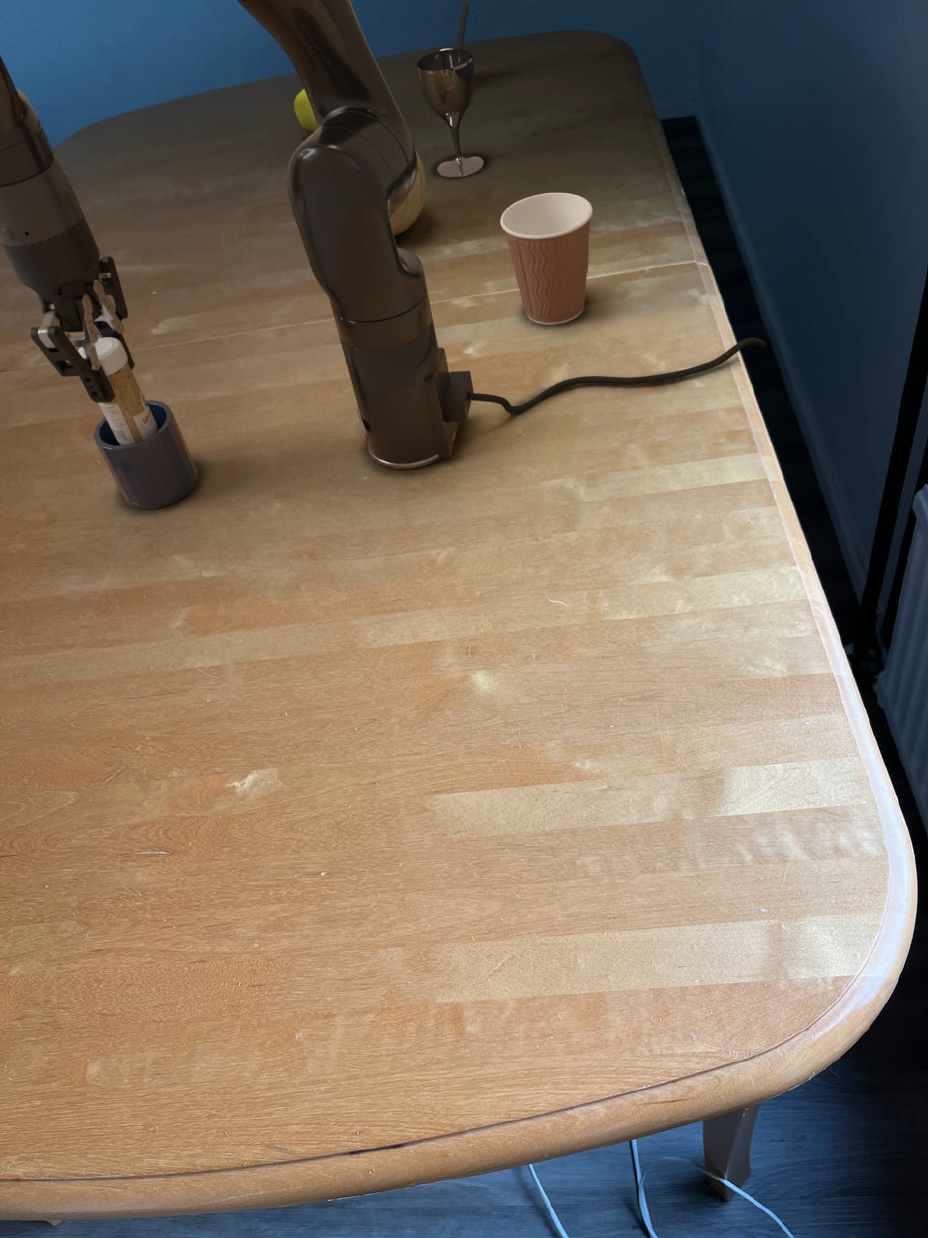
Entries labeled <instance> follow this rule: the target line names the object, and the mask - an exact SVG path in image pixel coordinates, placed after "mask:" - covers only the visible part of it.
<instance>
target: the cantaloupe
mask: <svg viewBox="0 0 928 1238" xmlns="http://www.w3.org/2000/svg"><path fill="white" fill-rule="evenodd" d="M415 151H416V155H417V177H416V181H415V184H414V186H413V188H412V190H411V192H410V194H409V195H408V197H407V198H406V199H405V201H404V202H403V203H402V204H401V205H400V206H399V208H398V209H397V210H396V211H395V212H394V213H393V214H392V216H391V217H390V222H391V227H392V231H393V235H394V237H396V236H398V235H400V234H402V233H404V232H405V231H406V230H408V229H409V228H410V227H411V226H412V225H413V224H414V223H415V222H416V220H417V219H418V217H419V216H420V214H421V211H422V209H423V206H424V204H425V200H426V199H425V198H426V190H427V189H426V188H427V183H426V174H425V171H424V166H423V163H422V160H421V158H420V155H419V153H418V151H417V150H416V149H415Z"/></svg>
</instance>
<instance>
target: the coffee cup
mask: <svg viewBox="0 0 928 1238" xmlns="http://www.w3.org/2000/svg"><path fill="white" fill-rule="evenodd" d="M592 215H593V206H592V204H591V203H590V201H589V200H588V199H586V198H585V197H582V196H581V195H578V194H573V193H569V192H547V193H540V194H535V195H531V196H529V197H525V198H522V199H520V200H517V201H516V202H514V203H513V204H511V205H509V206H508V207H507V208H506V209H504V211H503V212H502V214H501V217H500V221H499V223H500V225H501V228H502V230H504V234H505V237H506V242H507V246H508V249H509V255H510V258H511V262H512V266H513V270H514V274H515V278H516V283H517V286H518V291H519V294H520V298H521V299H520V300H521V302H522V306H523V309H524V311H525V314H526V316H527V317H528V318H529V320H531V321H532V322H534V323H536V324H540V325H544V326H554V325H555V326H556V325H562V324H565V323H569V322H571V321H574V320H575V319H576V318H578V317H579V315H581V313H583V311H584V309H585V307H584V306H585V301H586V295H587V279H588V278H587V277H588V276H587V275H588V271H589V258H590V257H589V256H590V255H589V254H590V253H589V242H590V226H591V225H590V224H591V217H592Z"/></svg>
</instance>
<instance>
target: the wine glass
mask: <svg viewBox="0 0 928 1238" xmlns="http://www.w3.org/2000/svg"><path fill="white" fill-rule="evenodd" d="M441 50H442V49H441ZM416 71H417V76H418V80H419V85H420V88H421V92H422V95H423V97H424V99H425V102H426V104H427V106H428V107H429V109H431V111H432V112H433V113H435V115H437V116H438V117H439V118H440V119H441V120H443V122H444V123H445V124H446V125H447V127H448V128H449V130H450V133H451V137H452V141H453V144H454V150H455V157H451V158H448V159H446V160H444V161H442V162H441V163H440V164H439V165H438V166H437V169H436V171H437V173H438V174H439V175H440V176H442V177H446V178H461V177H466V176H470V175H472V174H474V173H477V172H478V171H479V170H481V169H482V168H483V166H485V165H484V164H485V161H484V160H483V159H482V158H481V157H479V156H477V155H470V154H469V155H462V151H461V141H460V128H461V127H460V126H461V123H462V120H463V117H464V116H465V114H466V112H467V111H468V109H469V107H470V106H471V104H472V101H473V100H474V94H475V66H474V58H473V54H472V52H471V51H470V50H468V49H463V48H462V49H456V48H449V50H442V51H440V50H438V51H434V52H431V53H429V54H426V55H425V56H422V57H421V58H420V59H419V60H418V61H417V62H416Z"/></svg>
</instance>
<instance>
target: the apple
mask: <svg viewBox="0 0 928 1238" xmlns="http://www.w3.org/2000/svg"><path fill="white" fill-rule="evenodd" d="M293 109H294V113H295V116H296V117H297V120H298V122H299V124H300V125H301V127H302V128H303V129H305V130H306V131H308V132H311V133H313V132H314V131H316V130H317V129H318V126H317V122H316V119H315V116H314V113H313V110H312V107H311V104H310V102H309V100H308V97H307V95H306V92H305V90H304V88H303V89H302V90H300V91H299V93H297V95H296V96H295V99H294V101H293Z"/></svg>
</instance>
